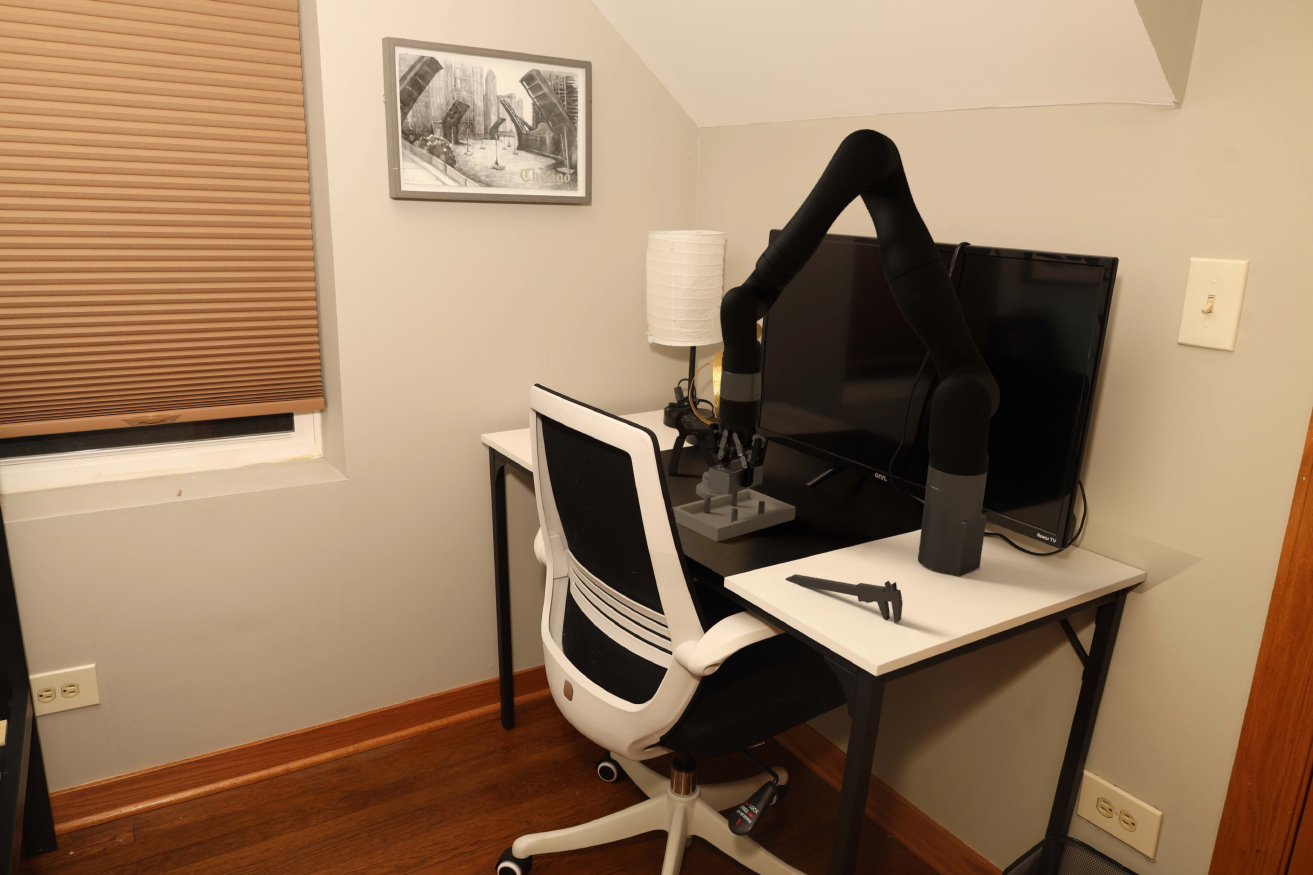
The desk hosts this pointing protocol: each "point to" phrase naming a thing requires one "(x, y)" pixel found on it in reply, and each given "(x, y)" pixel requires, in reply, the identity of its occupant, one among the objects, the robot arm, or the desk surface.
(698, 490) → the mechanical component
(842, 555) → the desk surface
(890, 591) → the caliper
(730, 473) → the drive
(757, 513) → the pin tray
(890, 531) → the desk surface
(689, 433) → the hand grip strengthener
